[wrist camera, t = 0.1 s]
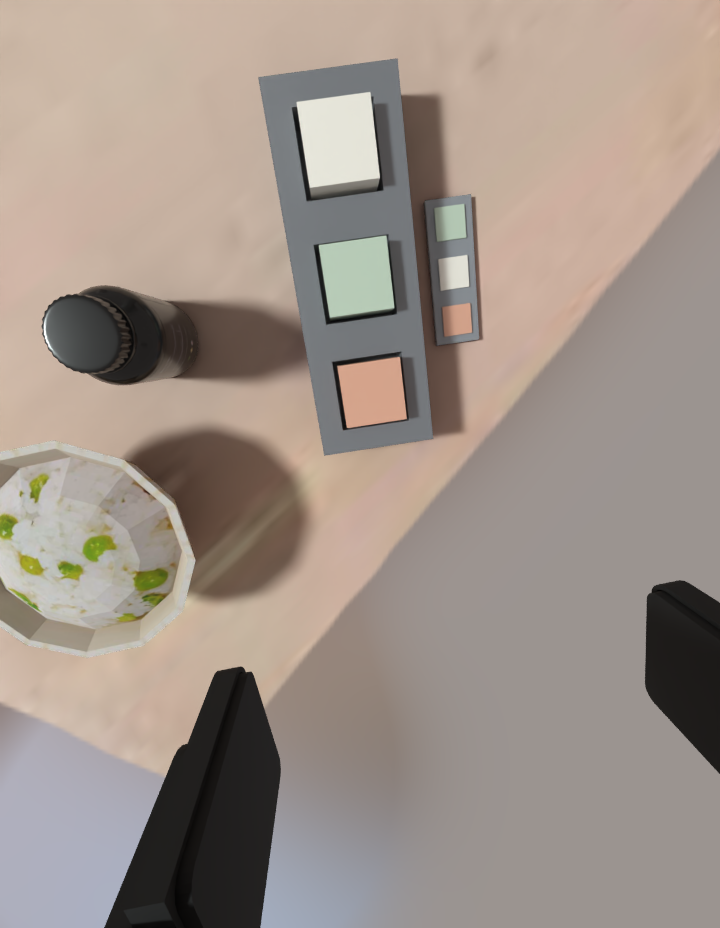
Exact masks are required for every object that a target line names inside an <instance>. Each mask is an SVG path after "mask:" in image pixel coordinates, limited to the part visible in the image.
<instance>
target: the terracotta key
mask: <svg viewBox="0 0 720 928" xmlns="http://www.w3.org/2000/svg"><path fill="white" fill-rule="evenodd" d="M337 367H338V374H339V380H340V386H341V393H342V399H343V406H344V412H345V419H346V425H347V428H352V427H358V426H365V425H371V424H378V423H384V422H391V421H397V420H404V419H407V417H406V408H405V399H404V390H403V381H402V372H401V363H400V357H391V358H384V359H377V360H371V361H364V362H357V363H351V364H344V365H337Z"/></svg>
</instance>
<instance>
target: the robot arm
mask: <svg viewBox="0 0 720 928" xmlns="http://www.w3.org/2000/svg"><path fill="white" fill-rule="evenodd" d="M645 667H646V668H645V685H646V690H647V692H648V694H649V696H650V698H651V699H652V701H653V702H654V703H655V704H656V705H657V706H658V707H659V709H660V710H661V711H662V712H663V713H664V714H665V715H666V716H667V717H668V718H669V719H670V721H672V723H673V724H674V725H675V726H676V727H677V728H678V729H679V730H680V731H681V732H682V733H683V734H684V736H685V737H686V738H687V739H688V740H689V741H690V742H691V743H692V744H693V745H694V747H695V748H696V749H697V750H698V751H699V752H700V753H701V754H702V755H703V756H704V757H705V758H706V760H707V761H708V762H709V763H710V764H711V765H712V766H713V767H714V768H715V769H716V770H717V771H718V772H719V774H720V603H719V602H718V601H716V600H715V599H713V598H711V597H710V596H708V595H707V594H705V593H704V592H702V591H700V590H699V589H697V588H696V587H694V586H693V585H691V584H689V583H687V582H685V581H680V580H679V581H675V582H669V583H665V584H659V585H656V586H654V587H653V589H652V593H650V594H649V595H648V596H647V621H646V666H645ZM280 773H281V768H280V758H279V754H278V751H277V748H276V745H275V742H274V739H273V735H272V732H271V729H270V726H269V723H268V719H267V716H266V713H265V710H264V707H263V704H262V700H261V697H260V694H259V691H258V688H257V685H256V681H255V678H254V675H253V673H252V672H245V669H244V668H243V667H236V668H231V669H226V670H221V671H217V672H216V673H215V675H214V677H213V679H212V682H211V684H210V687H209V690H208V692H207V695H206V697H205V700H204V703H203V705H202V708H201V710H200V713H199V716H198V718H197V721H196V723H195V726H194V729H193V731H192V734H191V736H190V739H189V742H188V744H185V745H182V746H181V747H180V748H179V749H178V750H177V752H176V754H175V756H174V758H173V760H172V763H171V765H170V768H169V770H168V773H167V775H166V778H165V780H164V782H163V785H162V787H161V790H160V792H159V795H158V797H157V800H156V802H155V805H154V807H153V809H152V812H151V814H150V817H149V819H148V822H147V824H146V827H145V829H144V832H143V834H142V837H141V839H140V841H139V844H138V847H137V849H136V851H135V854H134V856H133V859H132V861H131V864H130V866H129V868H128V871H127V873H126V876H125V878H124V881H123V883H122V886H121V888H120V891H119V893H118V896H117V898H116V901H115V903H114V905H113V908H112V910H111V913H110V915H109V918H108V920H107V923H106V925H105V927H104V928H260V925H261V917H262V910H263V903H264V895H265V888H266V880H267V872H268V865H269V858H270V850H271V843H272V835H273V827H274V820H275V813H276V805H277V798H278V790H279V783H280Z"/></svg>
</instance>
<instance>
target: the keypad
mask: <svg viewBox="0 0 720 928" xmlns="http://www.w3.org/2000/svg"><path fill="white" fill-rule="evenodd" d="M258 78H259V84H260V90H261V96H262V101H263V107H264V113H265V118H266V124H267V130H268V136H269V141H270V147H271V153H272V159H273V164H274V170H275V176H276V181H277V187H278V193H279V199H280V204H281V210H282V216H283V222H284V227H285V233H286V239H287V244H288V250H289V256H290V262H291V267H292V273H293V279H294V284H295V290H296V296H297V302H298V307H299V313H300V319H301V325H302V330H303V336H304V342H305V347H306V353H307V359H308V365H309V370H310V376H311V382H312V388H313V393H314V399H315V405H316V410H317V416H318V422H319V428H320V433H321V439H322V445H323V451H324V456H325V455H331V454H338V453H344V452H351V451H357V450H364V449H370V448H377V447H383V446H390V445H396V444H403V443H409V442H416V441H422V440H429V439H433V432H432V421H431V411H430V400H429V389H428V379H427V368H426V357H425V347H424V336H423V325H422V315H421V304H420V293H419V283H418V272H417V261H416V251H415V240H414V229H413V219H412V208H411V197H410V187H409V176H408V165H407V155H406V144H405V133H404V123H403V112H402V101H401V91H400V80H399V69H398V59H390V60H382V61H375V62H368V63H360V64H353V65H345V66H338V67H331V68H323V69H316V70H308V71H301V72H294V73H286V74H279V75H271V76H264V77H258ZM366 92H370V93H371V102H372V111H373V120H374V129H375V138H376V147H377V156H378V165H379V174H380V180H379V184H378V188H377V192H370V193H363V194H356V195H349V196H342V197H335V198H328V199H321V200H314V201H312V199H311V193H310V186H309V180H308V174H307V167H306V161H305V154H304V148H303V141H302V135H301V128H300V122H299V115H298V109H297V103H296V102H300V101H307V100H315V99H322V98H329V97H337V96H344V95H351V94H359V93H366ZM379 236H386V237H387V246H388V255H389V264H390V273H391V282H392V291H393V300H394V309H393V310H391V311H390V312H387V313H380V314H373V315H367V316H360V317H353V318H346V319H339V320H333V321H330V315H329V309H328V303H327V296H326V290H325V283H324V277H323V270H322V264H321V257H320V251H319V245H324V244H330V243H337V242H344V241H351V240H358V239H365V238H372V237H379ZM391 357H400V363H401V372H402V381H403V390H404V399H405V408H406V417H407V419H404V420H397V421H391V422H384V423H378V424H371V425H365V426H358V427H352V428H347V425H346V419H345V412H344V406H343V399H342V393H341V386H340V380H339V374H338V367H337V365H344V364H351V363H357V362H364V361H371V360H377V359H384V358H391Z"/></svg>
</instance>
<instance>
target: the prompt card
mask: <svg viewBox="0 0 720 928" xmlns="http://www.w3.org/2000/svg"><path fill="white" fill-rule="evenodd" d="M424 211H425V223H426V234H427V246H428V258H429V269H430V281H431V293H432V304H433V316H434V327H435V339H436V346H438V345H445V344H451V343H458V342H465V341H471V340H478V339H479V328H478V311H477V293H476V275H475V257H474V240H473V222H472V204H471V194H469V195H462V196H455V197H448V198H441V199H434V200H427V201H425V202H424Z"/></svg>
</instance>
